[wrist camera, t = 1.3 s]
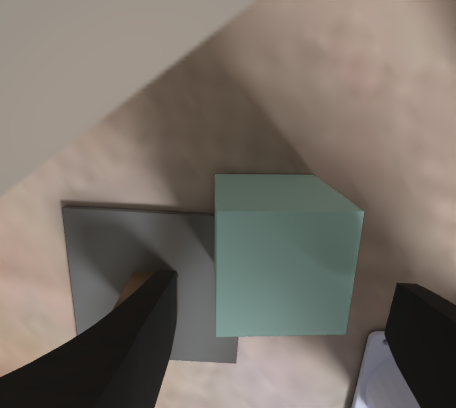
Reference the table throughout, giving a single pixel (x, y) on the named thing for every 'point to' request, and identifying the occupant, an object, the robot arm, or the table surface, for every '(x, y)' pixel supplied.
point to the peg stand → (147, 270)
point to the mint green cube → (283, 255)
